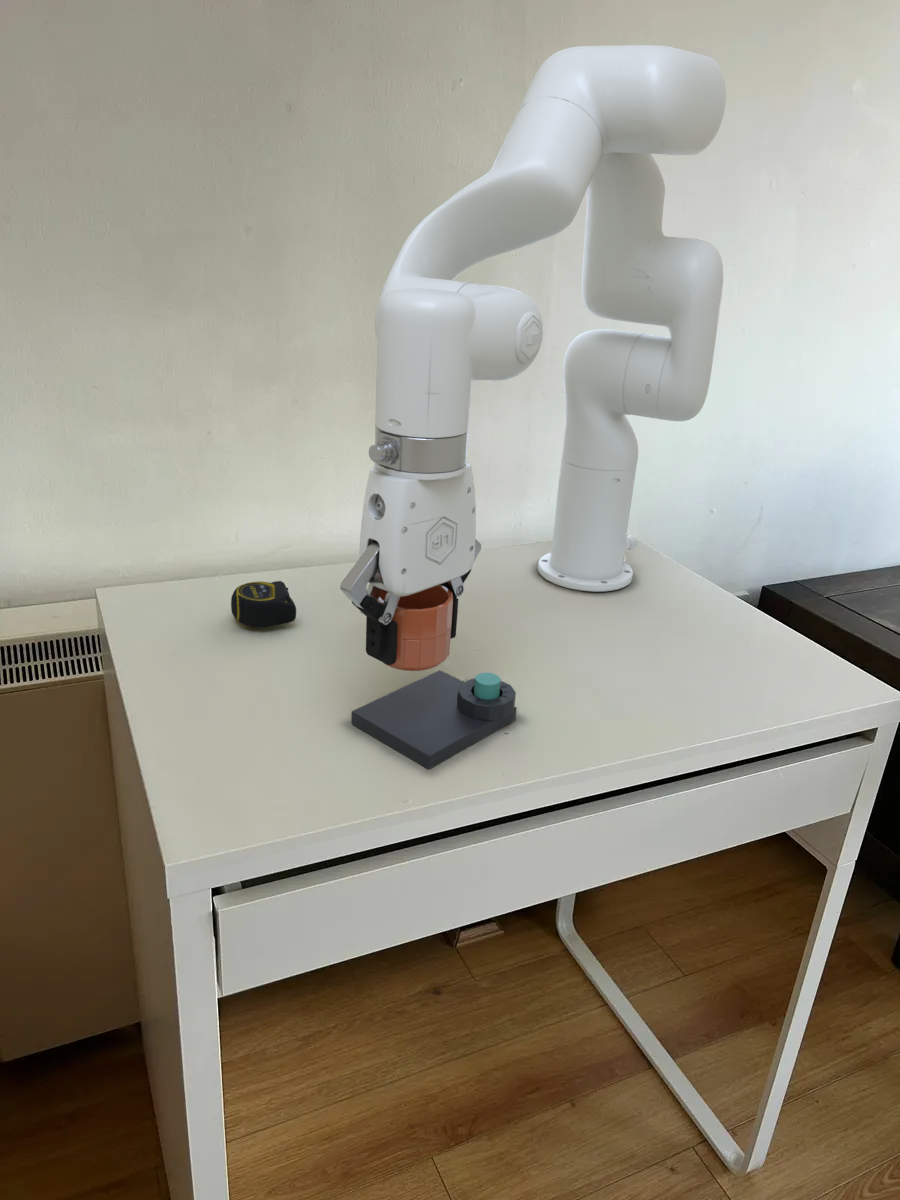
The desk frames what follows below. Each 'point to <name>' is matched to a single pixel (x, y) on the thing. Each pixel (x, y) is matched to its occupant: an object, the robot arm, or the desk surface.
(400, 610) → the terracotta cylindrical cup
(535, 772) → the desk surface
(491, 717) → the scale
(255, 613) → the tape measure
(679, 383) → the robot arm
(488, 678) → the button
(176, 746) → the desk surface
